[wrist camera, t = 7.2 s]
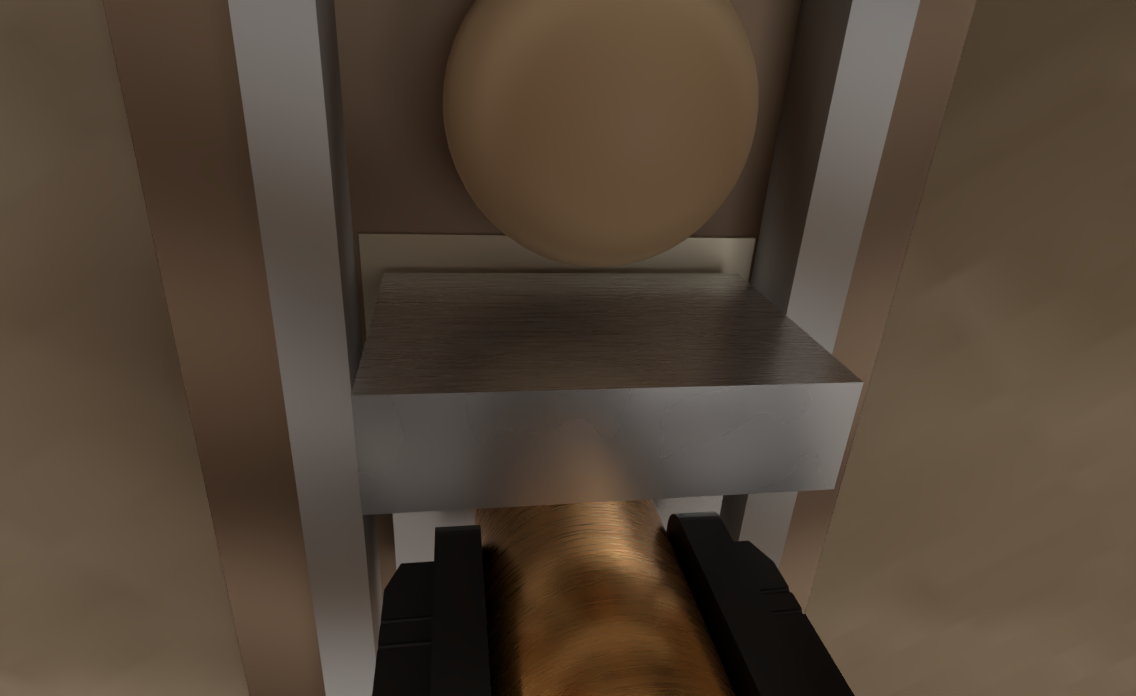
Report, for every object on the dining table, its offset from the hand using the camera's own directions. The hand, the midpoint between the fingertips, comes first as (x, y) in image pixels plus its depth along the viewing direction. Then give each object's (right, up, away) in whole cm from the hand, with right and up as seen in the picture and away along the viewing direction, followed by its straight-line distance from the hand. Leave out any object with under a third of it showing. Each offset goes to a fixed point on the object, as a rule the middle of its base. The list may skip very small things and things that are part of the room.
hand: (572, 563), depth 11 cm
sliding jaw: (0, +2, +2) cm, 3 cm away
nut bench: (-1, +2, +4) cm, 5 cm away
